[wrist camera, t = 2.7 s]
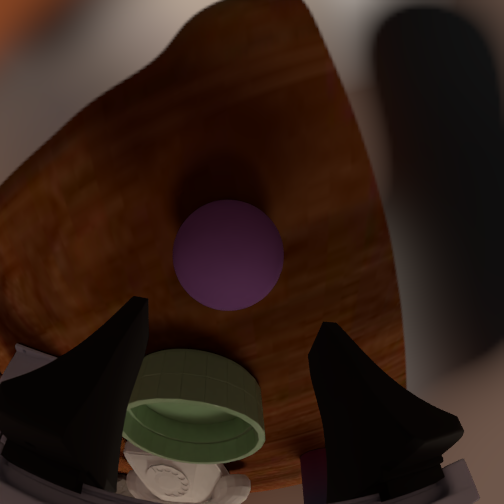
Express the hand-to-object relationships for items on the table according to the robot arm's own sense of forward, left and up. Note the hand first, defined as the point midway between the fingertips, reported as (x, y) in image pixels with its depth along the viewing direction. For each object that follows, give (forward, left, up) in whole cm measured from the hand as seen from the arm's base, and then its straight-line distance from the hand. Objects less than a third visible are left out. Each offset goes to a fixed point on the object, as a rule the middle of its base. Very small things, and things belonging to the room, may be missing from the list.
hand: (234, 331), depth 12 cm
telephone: (-2, -37, -9) cm, 38 cm away
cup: (+18, -32, -9) cm, 38 cm away
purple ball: (0, +1, -5) cm, 5 cm away
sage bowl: (-1, -16, -8) cm, 18 cm away
